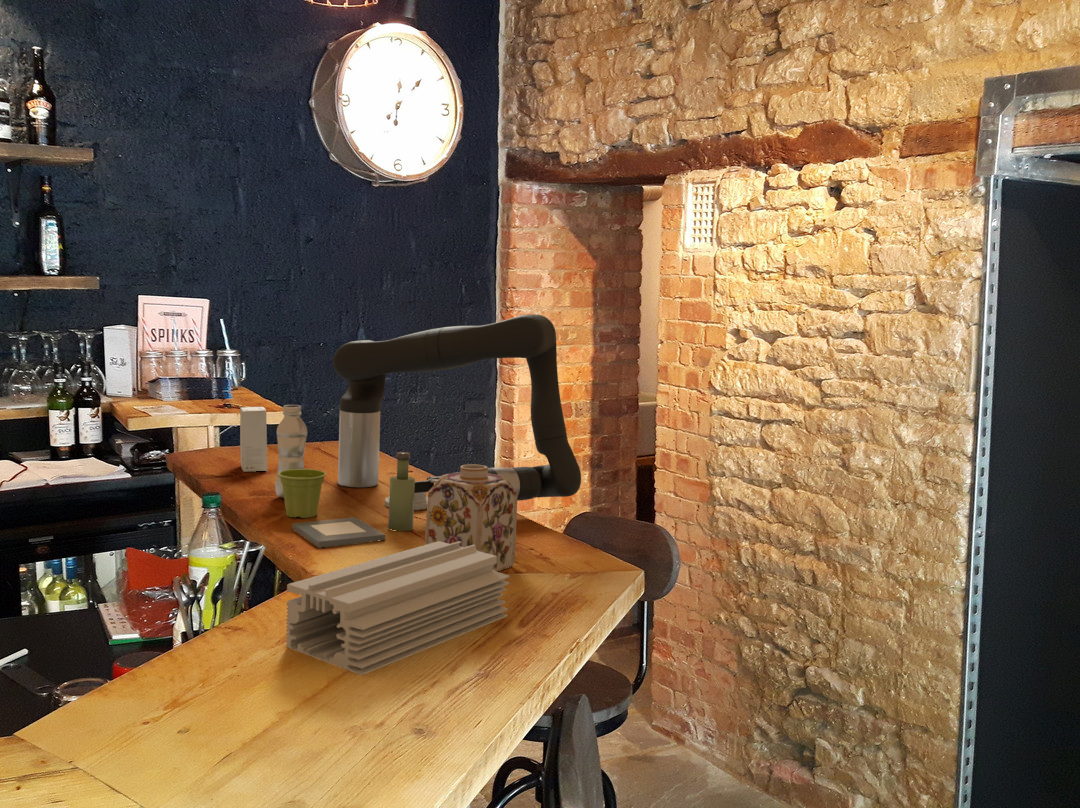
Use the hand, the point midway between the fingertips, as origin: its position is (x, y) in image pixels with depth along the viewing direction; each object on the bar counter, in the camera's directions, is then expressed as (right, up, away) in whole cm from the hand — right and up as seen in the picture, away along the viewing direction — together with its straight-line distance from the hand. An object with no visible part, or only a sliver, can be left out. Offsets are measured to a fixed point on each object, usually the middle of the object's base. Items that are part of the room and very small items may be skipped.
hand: (421, 491), depth 206 cm
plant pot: (-25, -5, +5) cm, 26 cm away
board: (-15, -7, -8) cm, 19 cm away
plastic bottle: (-31, -3, +19) cm, 36 cm away
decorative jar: (+11, -11, -25) cm, 29 cm away
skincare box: (-46, +1, +47) cm, 66 cm away
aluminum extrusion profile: (+4, -16, -57) cm, 59 cm away
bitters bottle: (-4, -7, -1) cm, 8 cm away
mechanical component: (-5, -5, +18) cm, 19 cm away
